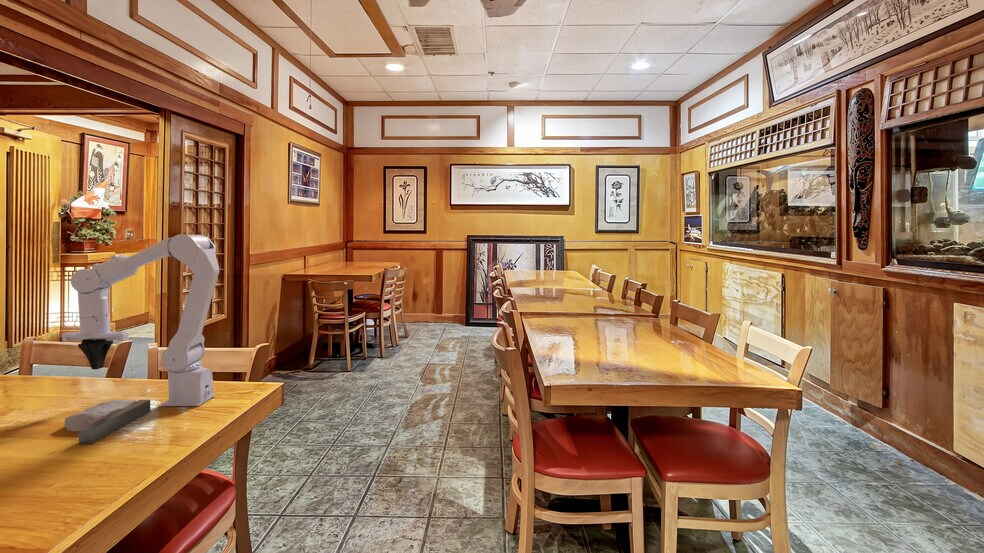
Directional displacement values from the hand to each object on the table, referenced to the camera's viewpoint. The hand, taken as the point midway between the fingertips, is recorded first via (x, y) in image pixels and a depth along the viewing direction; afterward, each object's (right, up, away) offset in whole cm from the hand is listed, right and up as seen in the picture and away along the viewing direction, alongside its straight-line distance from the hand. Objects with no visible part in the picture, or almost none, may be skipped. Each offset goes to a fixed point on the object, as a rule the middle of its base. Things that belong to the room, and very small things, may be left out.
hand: (97, 368), depth 116 cm
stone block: (+9, -11, -10) cm, 17 cm away
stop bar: (+16, -11, -13) cm, 23 cm away
